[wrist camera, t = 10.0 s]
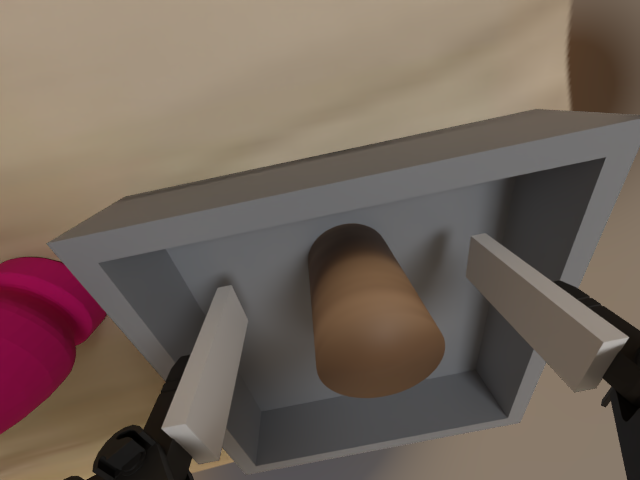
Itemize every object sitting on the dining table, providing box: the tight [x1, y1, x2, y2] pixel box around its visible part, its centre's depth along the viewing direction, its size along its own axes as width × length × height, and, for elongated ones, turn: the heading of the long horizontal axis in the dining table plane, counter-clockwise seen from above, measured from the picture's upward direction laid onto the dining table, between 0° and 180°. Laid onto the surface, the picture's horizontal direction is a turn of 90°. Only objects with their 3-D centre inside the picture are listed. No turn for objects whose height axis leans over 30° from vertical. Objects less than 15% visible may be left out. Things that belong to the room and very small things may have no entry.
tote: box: [46, 109, 640, 475], centre depth 17 cm, size 22×22×5 cm
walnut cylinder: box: [308, 223, 445, 398], centre depth 13 cm, size 5×5×7 cm
